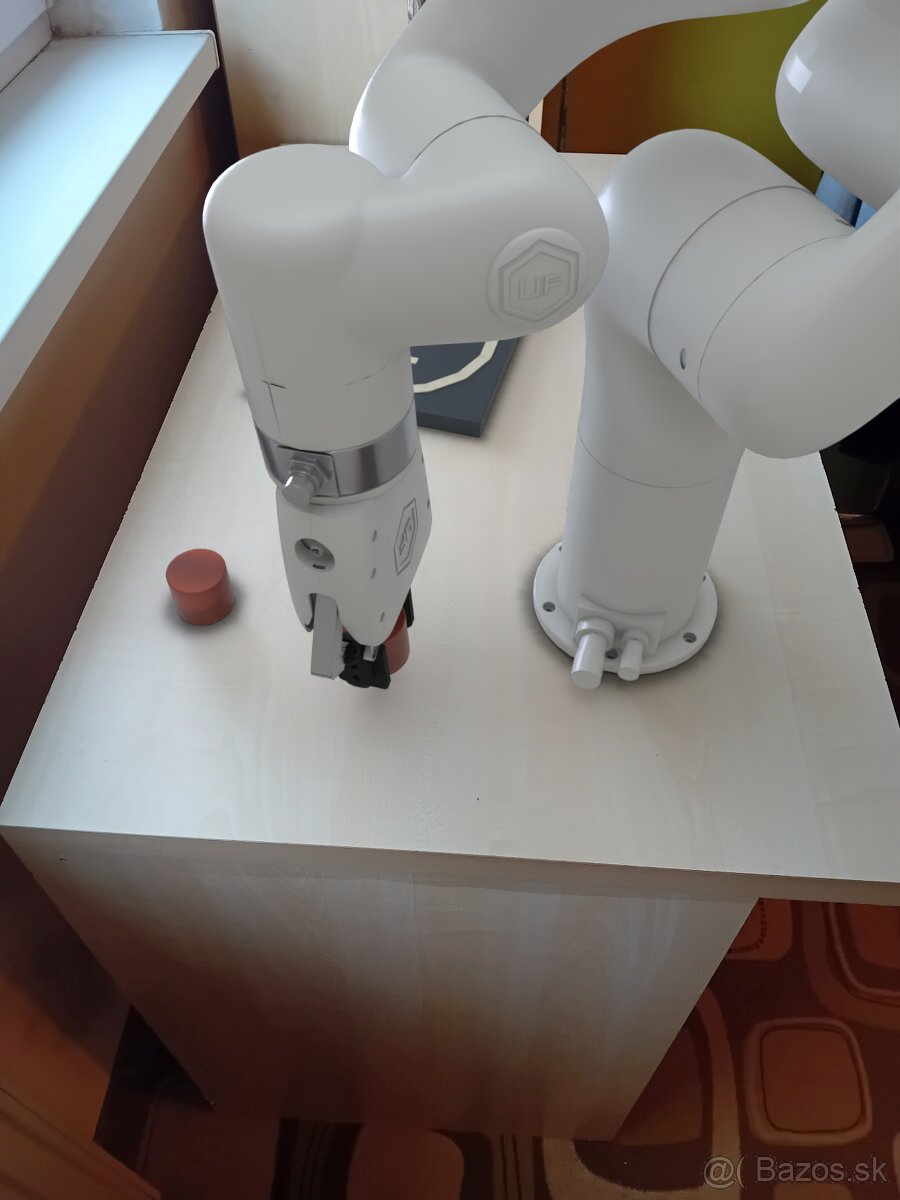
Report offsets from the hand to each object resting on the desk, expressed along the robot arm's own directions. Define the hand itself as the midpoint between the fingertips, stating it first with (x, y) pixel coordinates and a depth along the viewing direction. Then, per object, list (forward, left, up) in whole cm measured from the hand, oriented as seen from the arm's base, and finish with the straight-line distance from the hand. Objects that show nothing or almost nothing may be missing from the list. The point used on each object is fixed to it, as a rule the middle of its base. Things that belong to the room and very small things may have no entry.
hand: (377, 648), depth 60 cm
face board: (+35, +10, -4) cm, 37 cm away
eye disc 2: (0, 0, 0) cm, 0 cm away
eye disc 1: (+3, +14, -4) cm, 15 cm away
